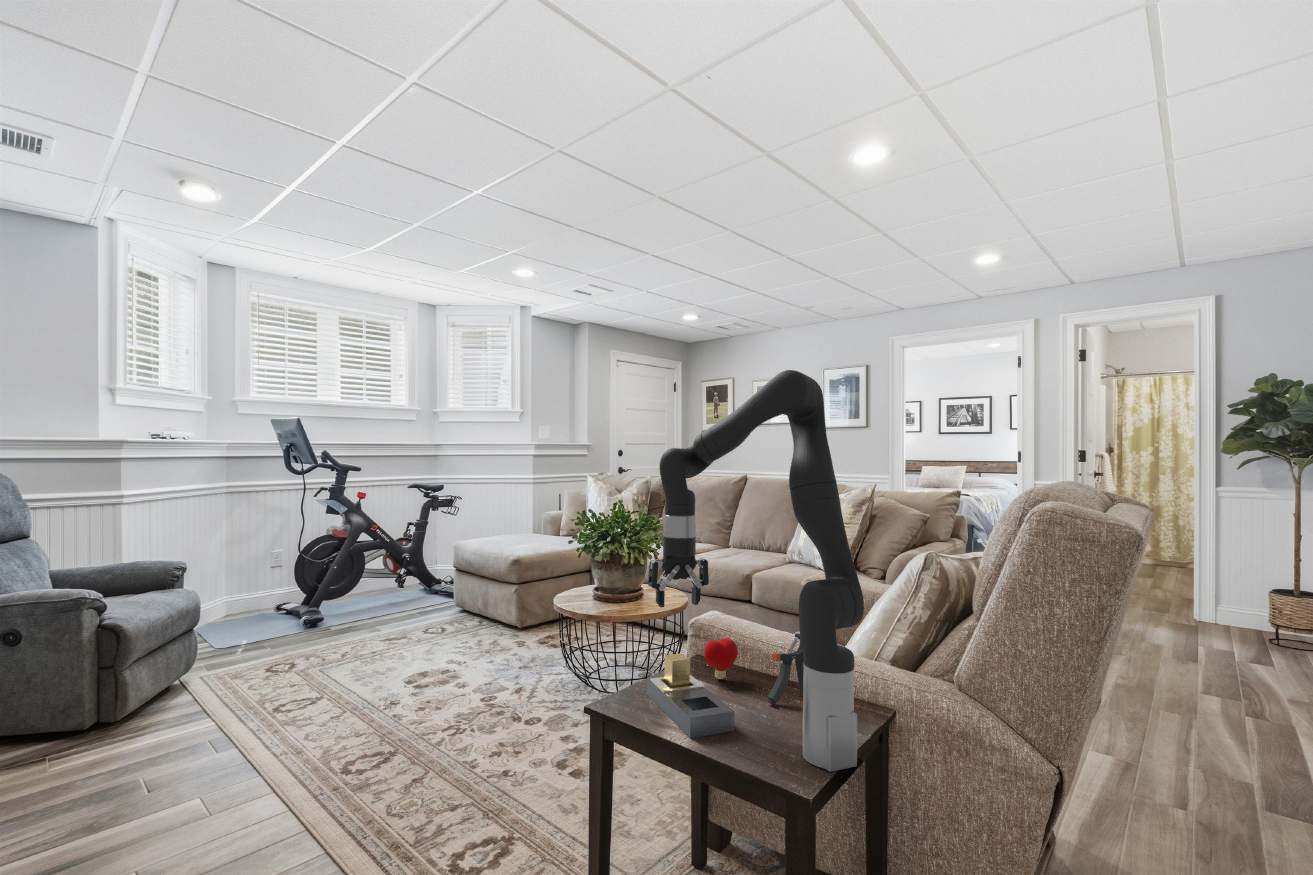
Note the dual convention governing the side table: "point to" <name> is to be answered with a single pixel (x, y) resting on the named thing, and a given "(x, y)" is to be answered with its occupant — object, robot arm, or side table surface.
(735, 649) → the red two-lobed part
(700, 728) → the grey peg holder block
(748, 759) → the side table surface
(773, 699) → the hand grip strengthener
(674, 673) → the brass block
